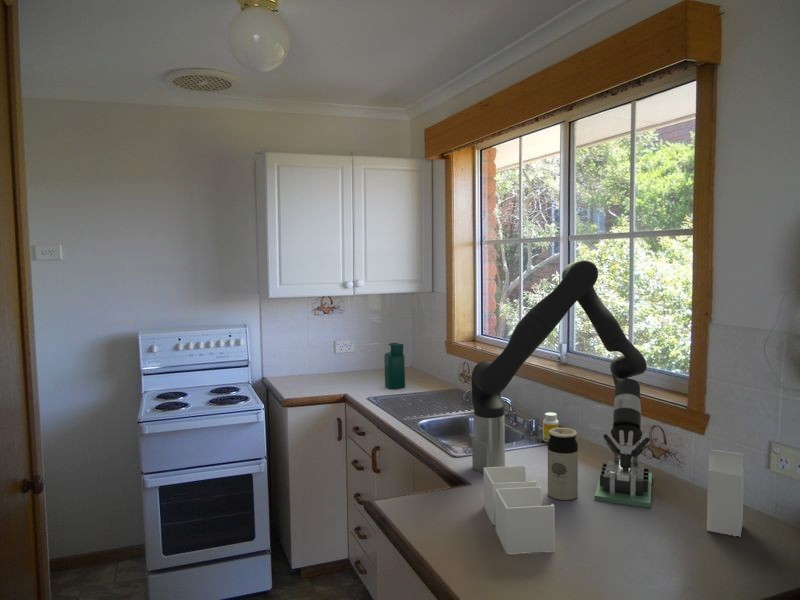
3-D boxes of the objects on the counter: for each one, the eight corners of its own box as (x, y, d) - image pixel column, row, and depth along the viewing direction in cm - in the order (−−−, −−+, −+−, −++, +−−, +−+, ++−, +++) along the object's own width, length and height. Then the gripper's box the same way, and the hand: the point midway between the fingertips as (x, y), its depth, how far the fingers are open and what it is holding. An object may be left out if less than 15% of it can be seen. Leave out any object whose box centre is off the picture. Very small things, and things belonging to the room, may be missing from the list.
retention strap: (620, 460, 179) (620, 456, 178) (631, 461, 177) (631, 458, 177) (616, 479, 164) (617, 476, 164) (628, 481, 163) (628, 477, 163)
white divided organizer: (483, 507, 162) (483, 467, 161) (524, 505, 162) (524, 465, 161) (506, 555, 137) (506, 508, 136) (554, 552, 138) (554, 505, 137)
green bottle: (383, 386, 300) (382, 342, 298) (399, 384, 303) (398, 340, 301) (391, 390, 291) (390, 345, 289) (407, 388, 294) (406, 343, 292)
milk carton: (740, 538, 142) (743, 459, 140) (706, 531, 145) (708, 453, 144) (742, 525, 148) (744, 449, 146) (709, 519, 151) (711, 445, 150)
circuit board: (650, 507, 159) (650, 503, 159) (594, 499, 164) (594, 495, 164) (651, 477, 179) (651, 473, 179) (601, 471, 184) (601, 467, 184)
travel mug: (557, 486, 173) (557, 425, 172) (583, 494, 168) (583, 431, 166) (542, 495, 168) (542, 431, 166) (568, 503, 162) (568, 438, 161)
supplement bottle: (541, 438, 216) (541, 411, 215) (556, 437, 216) (556, 411, 215) (545, 443, 211) (545, 416, 210) (560, 442, 211) (560, 415, 210)
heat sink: (647, 499, 161) (647, 475, 160) (598, 493, 166) (598, 469, 165) (648, 476, 177) (649, 454, 176) (603, 470, 181) (604, 449, 181)
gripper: (602, 405, 178) (599, 460, 168) (651, 408, 173) (651, 465, 163) (603, 417, 183) (601, 472, 173) (651, 420, 178) (651, 477, 168)
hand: (625, 468), depth 168 cm, fingers closed
